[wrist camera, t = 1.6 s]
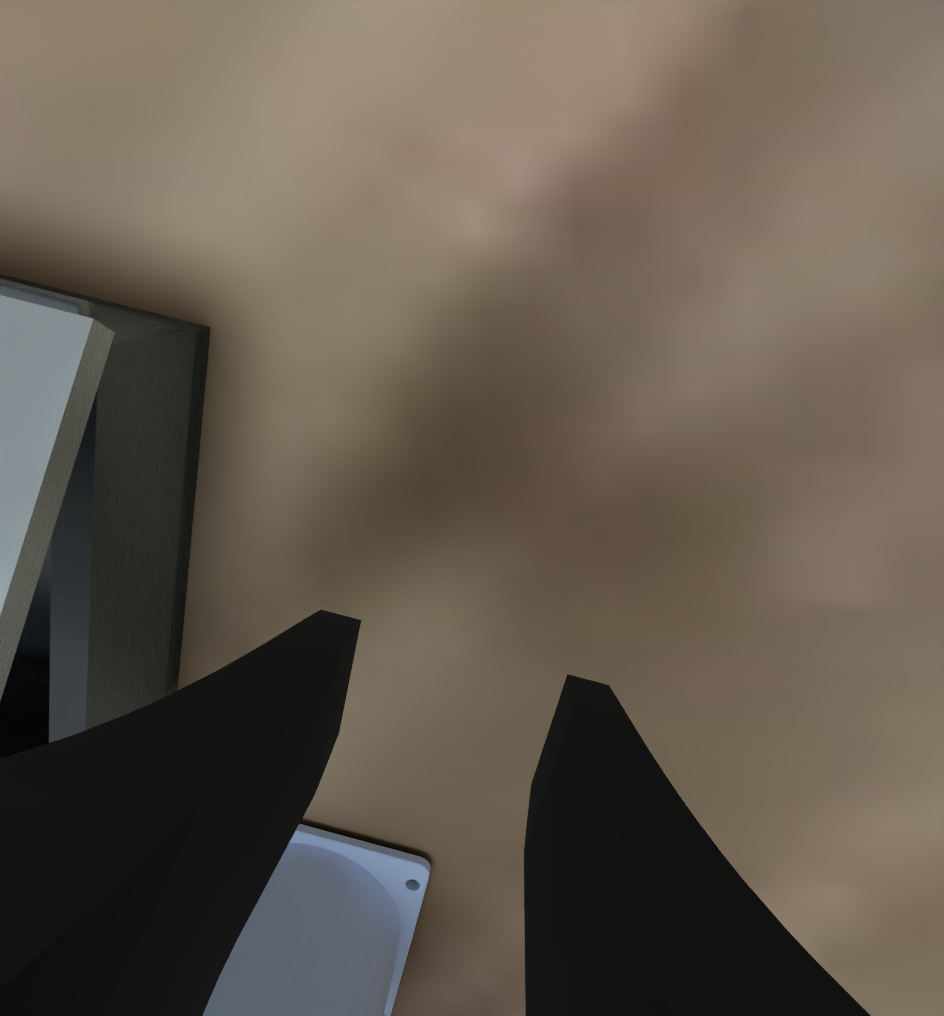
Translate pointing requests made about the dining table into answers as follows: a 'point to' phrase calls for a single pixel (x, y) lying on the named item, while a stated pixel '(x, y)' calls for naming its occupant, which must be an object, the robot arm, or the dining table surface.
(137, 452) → the grey square box
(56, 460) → the steel lid
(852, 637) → the dining table surface
